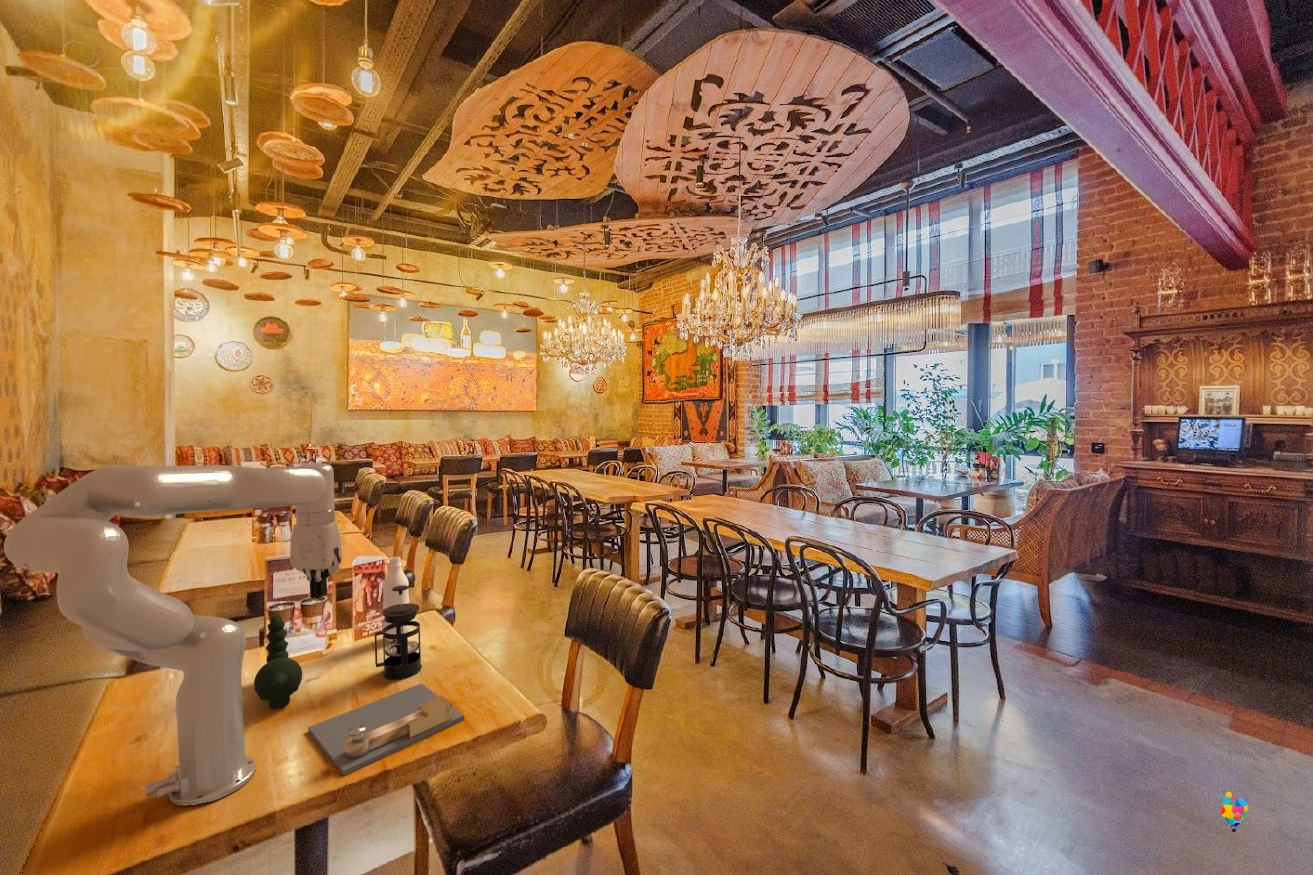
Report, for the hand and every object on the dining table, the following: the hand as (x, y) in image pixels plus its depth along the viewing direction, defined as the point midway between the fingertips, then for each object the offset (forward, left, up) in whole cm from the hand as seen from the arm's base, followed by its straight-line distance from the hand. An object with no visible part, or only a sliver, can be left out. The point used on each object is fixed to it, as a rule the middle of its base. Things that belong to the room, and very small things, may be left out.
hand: (318, 596), depth 125 cm
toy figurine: (-5, +15, -27) cm, 32 cm away
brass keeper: (+13, -25, -26) cm, 39 cm away
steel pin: (-1, -24, -23) cm, 34 cm away
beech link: (+6, -24, -26) cm, 36 cm away
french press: (+20, +5, -27) cm, 34 cm away
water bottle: (+28, +26, -27) cm, 47 cm away
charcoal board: (+7, -18, -27) cm, 33 cm away
